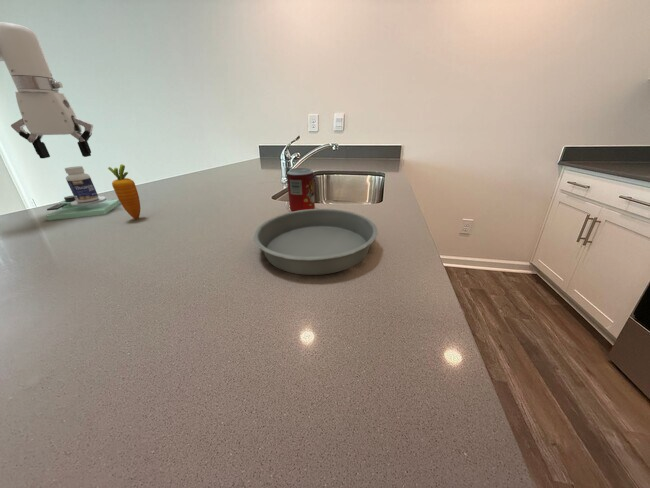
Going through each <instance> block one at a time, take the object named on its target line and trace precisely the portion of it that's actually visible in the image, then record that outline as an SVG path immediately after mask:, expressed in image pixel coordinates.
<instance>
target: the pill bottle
mask: <svg viewBox="0 0 650 488" xmlns="http://www.w3.org/2000/svg"><path fill="white" fill-rule="evenodd" d="M64 171H65V173H66V174H67V175H66V177H65V180H66V183H67V184H68V187H69V189H70V191H71V193H72V196H74V197H75V199H76V201H77V202H89V201H93V200H97V199H98V198H99V197H98V196H99V194H98V192H97V190H96V187H95V185H94V183H93V180H92V177H91V175H90V174H88V173H85V169H84V167H83V166H82V165H80V166H79V165H78V166H69V167H65V168H64Z"/></svg>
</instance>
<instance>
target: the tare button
mask: <svg viewBox="0 0 650 488" xmlns="http://www.w3.org/2000/svg"><path fill="white" fill-rule="evenodd" d="M63 199H64V200H65V201H66V202H73V201H75V200H76V199H75V197H74V195H68V196H64V197H63Z"/></svg>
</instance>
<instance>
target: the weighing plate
mask: <svg viewBox="0 0 650 488" xmlns="http://www.w3.org/2000/svg"><path fill="white" fill-rule="evenodd" d="M98 197H99V198H98V199H97V200H93V201H89V202H77V201H76V200H75V201H73V202H71V205H72V206H86V205H92V204H97V203H100V202H103V201H106V200H107V198H106V196H103V195H101V196H100V195H98Z"/></svg>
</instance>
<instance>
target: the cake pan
mask: <svg viewBox="0 0 650 488" xmlns="http://www.w3.org/2000/svg"><path fill="white" fill-rule="evenodd" d="M378 234H379V233H378V228H377V225H376V224H375V223H374V222H373V221H372V220H371V219H370V218H368V217H365V216H364V215H361V214H359V213H356V212H352V211H347V210H343V209H335V208H314V209H308V210H299V211H294V212H292V211H289V212H286V213H282V214H279V215H276V216H274V217H271V218H269V219H267V220H266V221H264V222H262V223H261V224H260V225H259V226H258V227H257V228H256V229H255V230H254V233H253V238H252V239H253V242H254V244H255V245H256V247H258V249H260V250H261V251H263V253H264V256H265V257H266V260H267V261H268V262H269V263H270V264H271V265H272V266H274V267H275V268H277V269H279V270H281V271H284V272H287V273H290V274H291V273H292V274H297V275H305V276H321V275H328V274H329V275H330V274H334V273H339V272H342V271H346V270H348V269H350V268H353V267H355V266H357V265H358V264H359V263H361V262H362V261H363V260H364V259H365V258H366V256H367V255H368V252H369V250H370V246H371V245H372V244H373V243H374V242H375V240H376V239H377V237H378Z"/></svg>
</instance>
